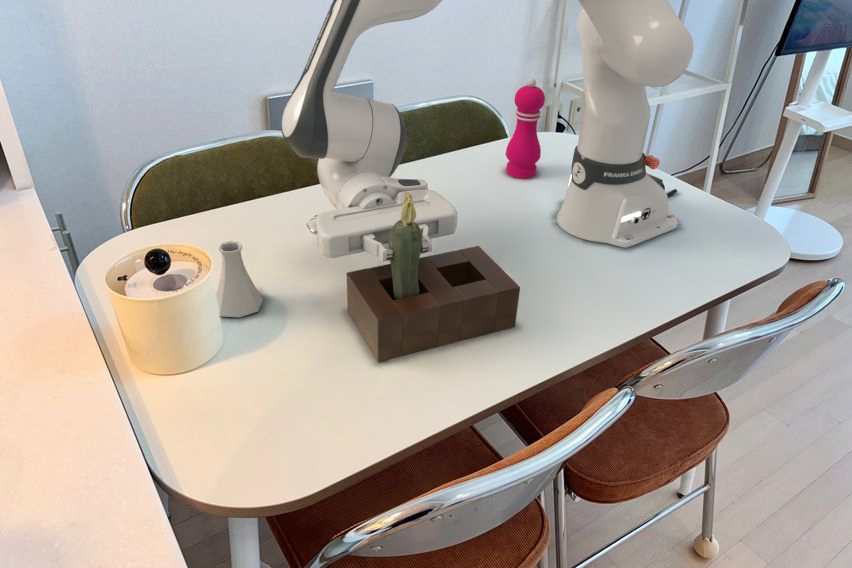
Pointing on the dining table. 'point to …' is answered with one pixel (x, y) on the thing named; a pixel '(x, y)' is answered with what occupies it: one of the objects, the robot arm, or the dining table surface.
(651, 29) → the robot arm
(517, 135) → the pepper mill
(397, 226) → the vegetable
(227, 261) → the flask
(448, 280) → the holder
